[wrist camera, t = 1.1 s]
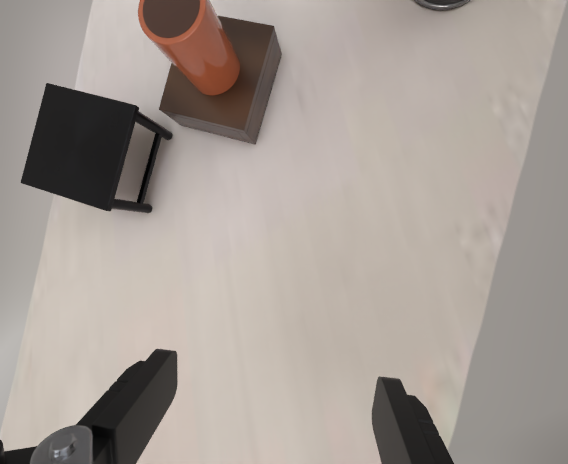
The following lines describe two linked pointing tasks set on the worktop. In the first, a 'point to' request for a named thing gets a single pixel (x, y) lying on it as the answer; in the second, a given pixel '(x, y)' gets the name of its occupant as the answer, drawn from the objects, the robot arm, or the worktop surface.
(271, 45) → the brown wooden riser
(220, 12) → the worktop surface
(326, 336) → the worktop surface
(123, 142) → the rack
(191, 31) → the cup
